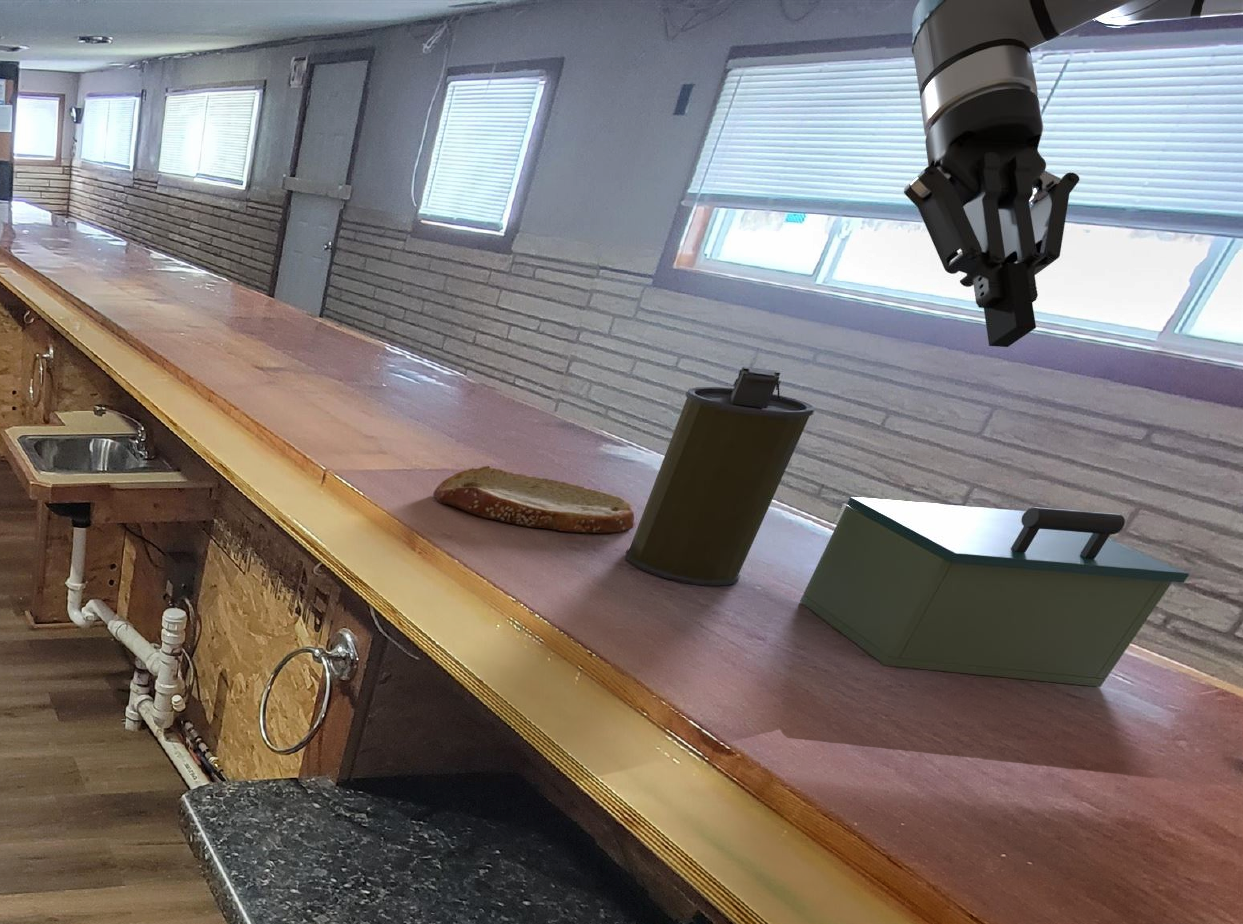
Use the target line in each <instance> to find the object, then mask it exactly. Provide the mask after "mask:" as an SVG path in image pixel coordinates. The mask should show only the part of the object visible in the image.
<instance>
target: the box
mask: <svg viewBox="0 0 1243 924" xmlns="http://www.w3.org/2000/svg"><path fill="white" fill-rule="evenodd" d="M1172 584H1173V582H1169V581H1157V580H1146V579H1135V578H1123V577H1112V576H1100V575H1089V574H1078V573H1066V572H1055V571H1044V570H1032V569H1021V568H1010V567H998V566H987V565H975V564H964V563H953V562H949V561H947V560H945V559H944V558H942V557H940V556H938V555H936V554H935V553H933V552H931V551H929V550H927V549H925V548H924V547H922V546H920V545H918V544H916V543H915V542H913V541H911V540H909V539H907V538H906V537H904V536H902V535H900V534H898V533H897V532H895V531H893V530H891V529H889V528H888V527H886V526H884V525H882V524H880V523H879V522H877V521H875V520H873V519H871V518H870V517H868V516H866V515H864V514H862V513H861V512H859V511H857V510H855V509H853V508H852V507H850V506H848V505H846V506H845V507H844V509H843V512H842V513H841V516H840V518H839V520H838V522H837V524H836V526H835V528H834V530H833V532H832V534H831V536H830V538H829V541H828V542H827V544H826V547H825V549H824V551H823V552H822V554H821V557H820V559H819V561H818V563H817V565H816V567H815V569H814V571H813V573H812V575H811V577H810V580H809V582H808V583H807V586H806V588H805V590H804V592H803V595H802V596H801V598H800V600H799V602H800V603H801V605H803V606H805V607H806V608H807V609H809V610H810V611H812V612H813V613H814V614H816V616H818V617H819V618H821V620H824V621H825V622H826V623H828V624H829V625H830V626H832V627H833V628H834V629H835V630H836V631H838V632H839V633H841V634H842V635H844V636H845V637H846V638H847V639H849V640H850V641H851V642H853V643H854V644H855V645H856V646H858V647H860V648H861V649H862V650H863V651H865V652H866V653H868V654H869V655H870V656H872V657H873V658H874V659H875V660H877V661H878V662H879V663H881V664H882V665H883V666H887V667H898V668H907V669H908V668H909V669H915V670H927V671H938V672H947V673H955V674H956V673H957V674H967V675H978V676H985V677H986V676H988V677H996V678H1006V679H1018V680H1027V681H1036V682H1045V683H1046V682H1047V683H1057V684H1067V685H1075V686H1076V685H1078V686H1088V687H1095V688H1096V687H1097V688H1100V687H1102V685H1103V684H1104V683H1105V681H1106V679H1107V678H1108V677H1109V675H1110V674H1111V672H1112V671H1113V670H1114V668H1115V667H1116V665H1117V664H1118V662H1119V661H1120V659H1121V658H1122V657H1123V655H1124V653H1126V651H1127V649H1128V647H1129V646H1130V644H1132V642H1133V641H1134V639H1135V638H1136V636H1137V635H1138V633H1139V632H1140V630H1141V628H1142V627H1143V626H1144V625H1145V623H1146V622H1147V620H1148V619H1149V617H1150V615H1151V614H1152V612H1153V611H1154V610H1155V608H1156V607H1157V605H1158V604H1159V602H1160V601H1161V600H1162V598H1163V597H1164V595H1165V594H1166V592H1167V591H1168V589H1169V588H1170V586H1171V585H1172Z"/></svg>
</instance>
